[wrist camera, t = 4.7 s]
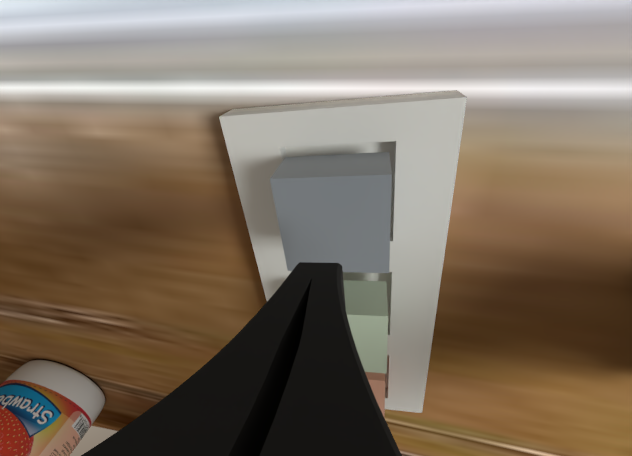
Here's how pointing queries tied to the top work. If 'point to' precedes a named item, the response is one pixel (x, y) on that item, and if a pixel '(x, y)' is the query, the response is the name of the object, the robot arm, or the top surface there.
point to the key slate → (335, 210)
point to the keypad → (406, 202)
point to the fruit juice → (46, 409)
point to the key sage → (368, 321)
